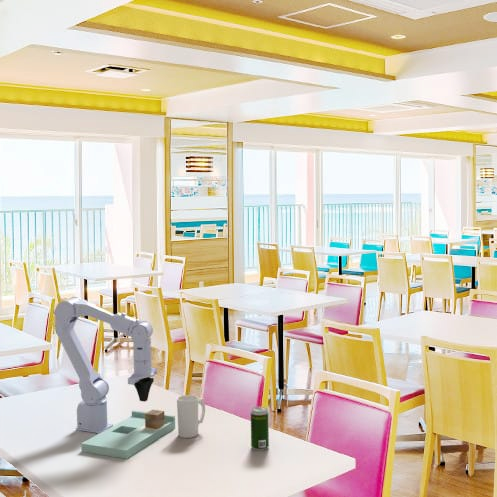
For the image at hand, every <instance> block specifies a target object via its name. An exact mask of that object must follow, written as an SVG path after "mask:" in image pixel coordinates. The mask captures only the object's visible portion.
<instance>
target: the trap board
mask: <svg viewBox="0 0 497 497" xmlns="http://www.w3.org/2000/svg"><path fill="white" fill-rule="evenodd" d="M147 412H148V411H146V412H145V411H139V410H132V411H131V416H128V417H127V418H125V419H123V420H121V421H120V422H118V423H116V424H114V425H113V426H112V427H110V428H108V429H106V430H105V431H103V432H101V433H97V434H95V435H94V436H93V437H90V438H89V439H87V440H85V441H83V442H81V443H80V444H81V446H80V447H81V453H82V452H83V453H87V454H94V455H101V456H108V457H114V458H120V459H126V460H127V459H129V458H131V457H132V456H133V455H136V454H137V453H138V452H140V451H141V450H143V449H144V448H146V447H148V446H149V445H150V444H152V443H154V442H155V441H156V440H158V439H159V438H162V437H163V436H164V435H167V434H168V433H170V432H171V431H173V430H174V429H176V415H172V414H164V416H165V425H163V426H162V427H160V428H159V429H153V428H146V427H145V413H147Z"/></svg>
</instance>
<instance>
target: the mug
mask: <svg viewBox="0 0 497 497" xmlns="http://www.w3.org/2000/svg"><path fill="white" fill-rule="evenodd" d="M199 405H200V406H201V414H200V416H199ZM176 408H177V410H176V411H177V412H176V413H177V430H178V436H179V437H180V438H183V439H191V438H195V437H198V436H199V424H202V423H203V422H204V419H205V415H206V405H205V402H204V398H203V397H199V396H197V395H194V394H193V395H192V394H185V395H180V396H177V398H176Z"/></svg>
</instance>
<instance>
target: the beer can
mask: <svg viewBox="0 0 497 497" xmlns="http://www.w3.org/2000/svg"><path fill="white" fill-rule="evenodd" d="M269 424H270V423H269V410H268V408H267V407H265V406H254V407H251V410H250V446H251V449H252V450H253V451H257V452H263V451H266V450H268V449H269V446H270V440H269V437H270V436H269V435H270V434H269V432H270V431H269V427H270V425H269Z"/></svg>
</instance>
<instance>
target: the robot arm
mask: <svg viewBox="0 0 497 497" xmlns="http://www.w3.org/2000/svg"><path fill="white" fill-rule="evenodd" d="M53 315H54V331H55V333H56V335H57V337H58V339H59V341H60V343H61V344H62V346H63V349H64V350H65V352H66V356H68V358H69V361H70V363H71V365H72V366H73V368H74V370H75V373H76V374H77V376H78V378H79V381H78V382H79V383H78V387H79V389H80V395H81V396H80V397H81V399H82V400H81V401H80V402H79V403H78V405H77V408H76V425H77V426H76V428H75V430H76V431H82V432H87V433H88V432H89V433H96V434H100V433H101V432H103V431H105V430H107V429H109V428H110V427H112V426H114V425H113V424H112V423H108V402H107V400H108V399H107V397H106V396H107V394H108V393H109V391H110V387H109V383H108V382H107V381H106V380H105V379H104V378H103V377H102V376H101V374H100V373H99V372H98V371H96V370H95V369H94V367H93V364H92V363H91V361H90V359H89V357H88V355H87V352H86V350H85V349H84V347H83V345H82V343H81V341H80V338H78V336H77V334H76V332H75V324H76V322H77V320H78V318H82V317H86V316H88V317H90V318H93V319H96V320H99V321H101V322H104V323H106V324H109V325H110V328H111V329H112V330H114V331H116V332H119V333H121V334H123V335H125V336H128V337H130V338H131V340H132V341H133V344H132V345H133V346H132V347H133V348H132V349H133V373H132V374H130V377H128V378H127V385H131V386H134V387H135V389H136V392H137V395H138V399H139V402H144V403H146V402H147V401H148V398H149V395H150V390H151V387H152V385H153V383H154V381H155V380H154V378H153V377H155V375H158V367H153V366H152V339H151V336H152V335H153V333H154V329H153V325H152V324H151V323H150V322H148V321H147V320H142V321H141V320H140V319H139V318H136V319H135V318H133V317H130V316H128V315H127V313H126V312H118V313H115V314H114V313H112V312H110V311H108V310H106V309H104V308H101V307H100V306H97V305H95V304H94V303H91V302H89V301H88V300H87V299H83V298H82V299H81V298H80V297H79V296H72V297H69V298H68V299H66V300H62V301H60V302H58V303H57V304H56V306H55V308H54V311H53Z"/></svg>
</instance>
